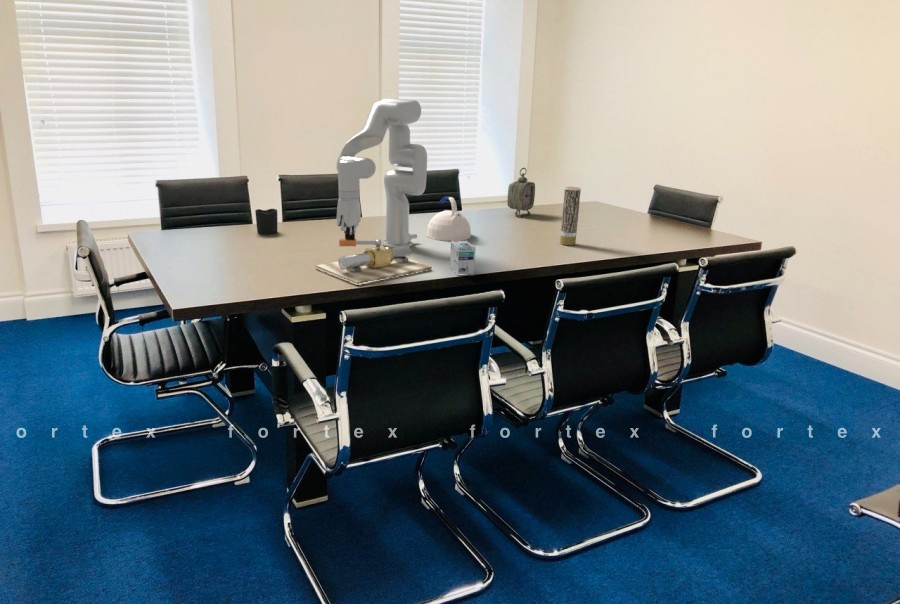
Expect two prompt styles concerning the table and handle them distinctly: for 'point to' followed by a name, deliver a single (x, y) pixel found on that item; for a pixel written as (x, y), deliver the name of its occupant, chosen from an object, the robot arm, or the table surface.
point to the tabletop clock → (521, 194)
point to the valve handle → (358, 242)
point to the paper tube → (570, 215)
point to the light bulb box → (462, 257)
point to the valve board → (375, 271)
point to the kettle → (449, 224)
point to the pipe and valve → (375, 258)
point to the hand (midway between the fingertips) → (350, 243)
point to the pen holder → (266, 221)
